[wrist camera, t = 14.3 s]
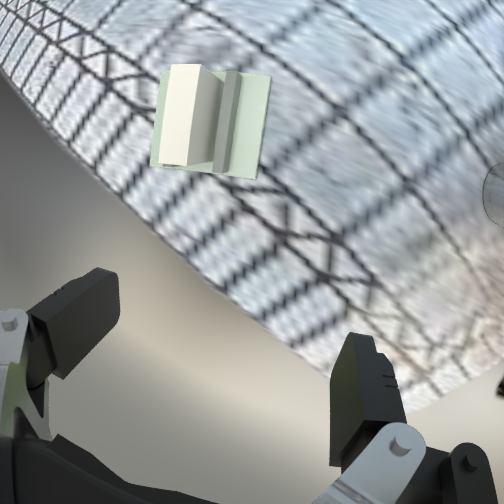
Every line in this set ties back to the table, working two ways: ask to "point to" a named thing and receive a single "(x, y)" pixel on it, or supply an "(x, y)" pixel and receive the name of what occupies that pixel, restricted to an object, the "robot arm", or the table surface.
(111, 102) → the table surface
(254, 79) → the dish rack
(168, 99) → the cream rectangular prism
